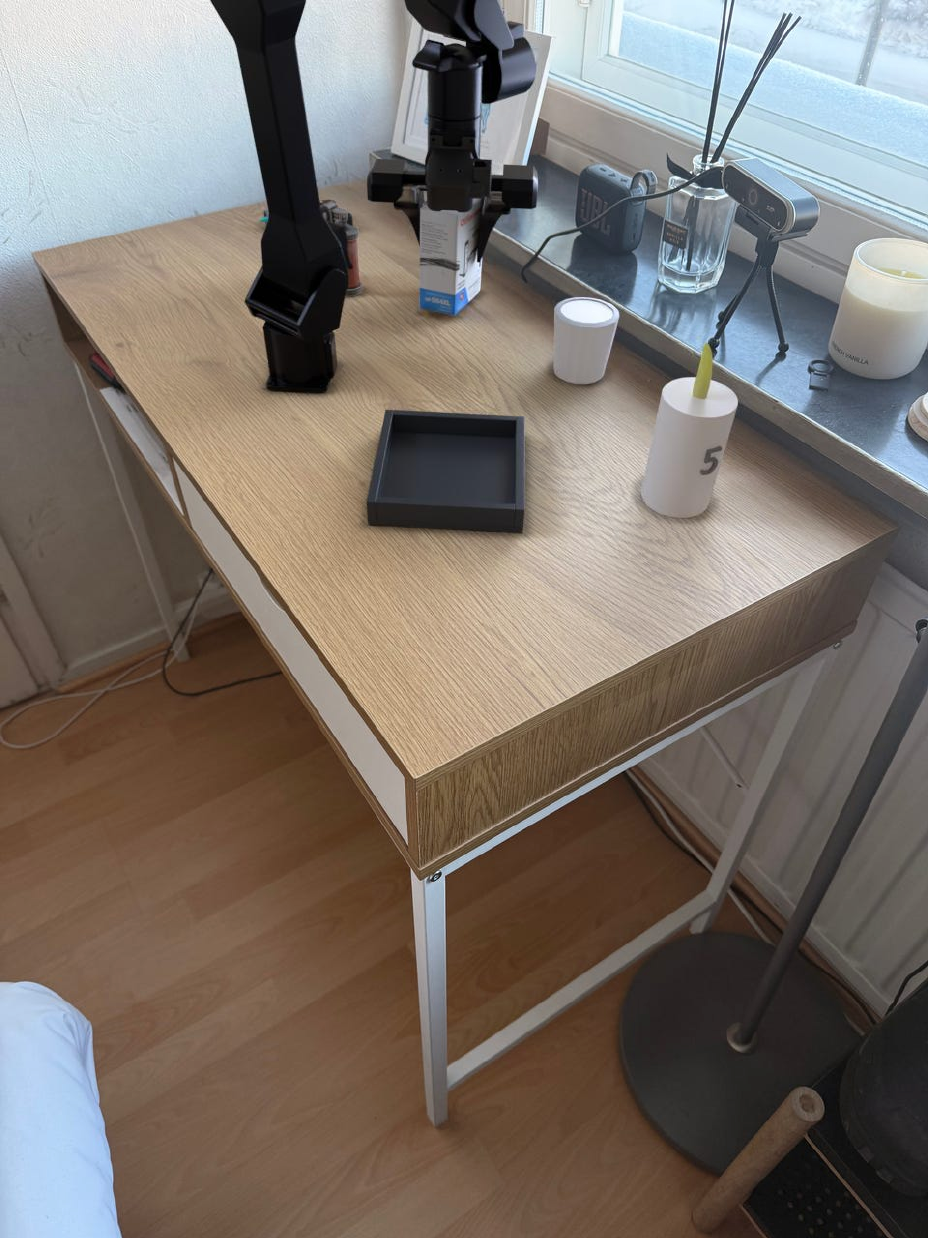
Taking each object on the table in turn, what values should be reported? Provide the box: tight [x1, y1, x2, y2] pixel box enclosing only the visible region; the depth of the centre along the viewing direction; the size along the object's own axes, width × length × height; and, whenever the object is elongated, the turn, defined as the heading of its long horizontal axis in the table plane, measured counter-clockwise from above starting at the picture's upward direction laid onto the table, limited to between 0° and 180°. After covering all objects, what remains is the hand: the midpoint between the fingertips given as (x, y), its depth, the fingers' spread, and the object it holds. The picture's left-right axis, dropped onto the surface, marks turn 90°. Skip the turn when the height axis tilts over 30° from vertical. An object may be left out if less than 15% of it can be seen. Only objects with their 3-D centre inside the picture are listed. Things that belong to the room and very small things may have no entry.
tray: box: [366, 409, 525, 534], centre depth 80 cm, size 14×15×3 cm
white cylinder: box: [552, 296, 620, 385], centre depth 93 cm, size 7×7×7 cm
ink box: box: [419, 197, 485, 317], centre depth 102 cm, size 9×5×12 cm, turn 157°
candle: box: [640, 342, 739, 519], centre depth 75 cm, size 6×6×15 cm
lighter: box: [319, 200, 362, 297], centre depth 105 cm, size 8×3×10 cm, turn 58°
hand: (452, 259), depth 103 cm, fingers closed on ink box, 6 cm apart
